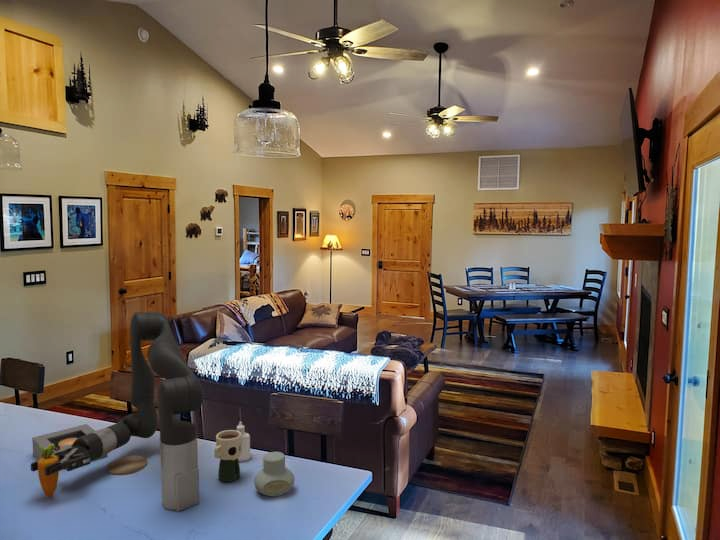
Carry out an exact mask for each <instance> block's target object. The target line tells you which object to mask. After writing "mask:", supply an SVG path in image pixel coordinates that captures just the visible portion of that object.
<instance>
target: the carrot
mask: <svg viewBox="0 0 720 540" xmlns="http://www.w3.org/2000/svg"><path fill="white" fill-rule="evenodd" d="M53 448H54V444H49V445H48V447H45V448H44V449H43V447H42V446H41V445H40V446H39V449H40V450H41V452H42V453H43V455H44V457H42V458H41V459H39V460H37V461H38V462H37V465H38V470H37V473H38V479H39V484H40V486H41V489H42V491H43V493H44V495H45V496H46V497H47V498H48V499H52V497H53V496H54V494H55V491H56V489H57V486H58V482H59V473H60V471H57V472H55V473H53V474H51V475H49V476H46V475H45V471H44V469H45V467H47V466H50V465H52V464H54V463H56V462H59V461H58V458H57V456H55V455H52V454H53V453H54V452H55V450H53V451H52V449H53ZM51 451H52V452H51ZM46 452H47V455H46Z"/></svg>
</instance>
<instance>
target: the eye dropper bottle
mask: <svg viewBox="0 0 720 540" xmlns="http://www.w3.org/2000/svg"><path fill="white" fill-rule="evenodd" d="M245 429H246V428H245V425H243V422H242V421H239V422H238V425H237V426H236V430H237V431H239V432H240V433H241V435H242V438H243V443H242V445H241V446H242V453H241V455H240V457H239V458H238V460H239V463H240V462H246V461H249V460H250V459H251V435H250V434H249V433H248V432H246V431H245Z"/></svg>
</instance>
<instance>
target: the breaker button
mask: <svg viewBox="0 0 720 540" xmlns="http://www.w3.org/2000/svg"><path fill="white" fill-rule="evenodd" d="M76 439H78V438H68V439H64V440H62V441H60V442H59V443H58V446H60V447H63V446H67V445H70V444H73V443H74V442H75V440H76Z"/></svg>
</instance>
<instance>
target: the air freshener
mask: <svg viewBox="0 0 720 540" xmlns="http://www.w3.org/2000/svg"><path fill="white" fill-rule="evenodd" d="M262 459H263V463H262V464H263V468H262V469H261V470H260V471H258V473H256V474H255V477H254V481H253V484H254V487H255V488H256V490H257V491H258V492H259V493H261V494H263V495H265V496H269V497H270V496H271V497H279V496H281V495H283V494H285V493H288V492H289V491H290V490H291V489H292V488H293V485H294V484H295V474H294V473H293V471H292V470H291V469H289V468H288V467H286V455H285V454H284V453H283V452H281V451H270V452H267V453H266V454H265V455H264V456H263V458H262Z"/></svg>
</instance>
